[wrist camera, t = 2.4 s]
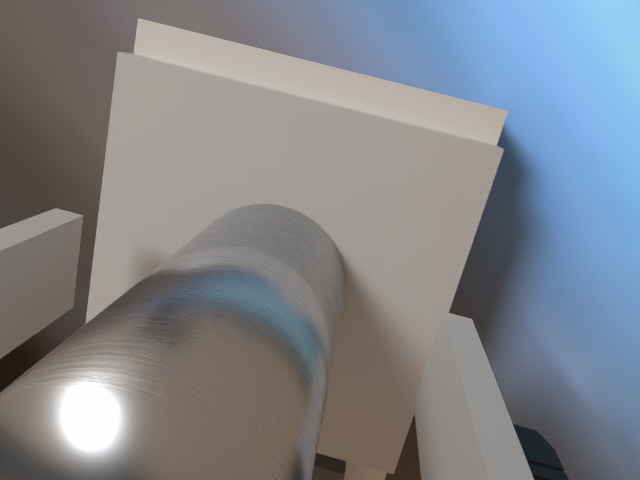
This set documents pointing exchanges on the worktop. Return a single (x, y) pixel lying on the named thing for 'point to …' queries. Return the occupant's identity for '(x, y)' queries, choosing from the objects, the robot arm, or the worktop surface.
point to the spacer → (192, 365)
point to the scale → (304, 202)
